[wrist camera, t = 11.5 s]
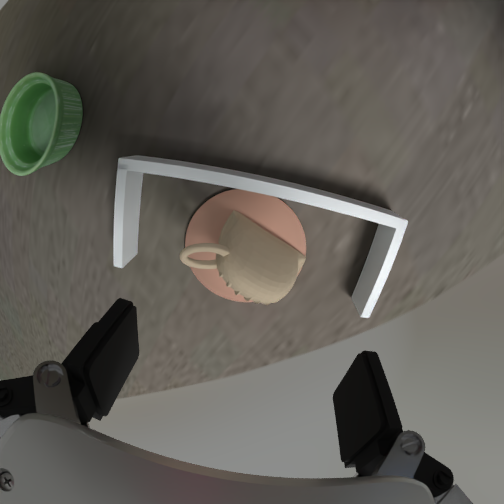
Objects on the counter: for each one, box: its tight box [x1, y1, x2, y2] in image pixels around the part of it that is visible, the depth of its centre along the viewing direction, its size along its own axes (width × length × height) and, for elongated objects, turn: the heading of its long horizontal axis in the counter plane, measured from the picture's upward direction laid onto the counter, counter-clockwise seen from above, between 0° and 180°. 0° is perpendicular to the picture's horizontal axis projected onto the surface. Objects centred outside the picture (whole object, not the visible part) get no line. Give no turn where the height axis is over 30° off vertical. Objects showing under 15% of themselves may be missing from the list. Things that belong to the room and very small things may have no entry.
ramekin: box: [0, 72, 83, 176], centre depth 16 cm, size 9×9×4 cm
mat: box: [185, 189, 306, 302], centre depth 22 cm, size 10×10×1 cm
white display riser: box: [114, 155, 408, 318], centre depth 20 cm, size 21×8×3 cm, turn 78°
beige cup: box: [180, 210, 306, 305], centre depth 19 cm, size 4×8×5 cm, turn 55°
